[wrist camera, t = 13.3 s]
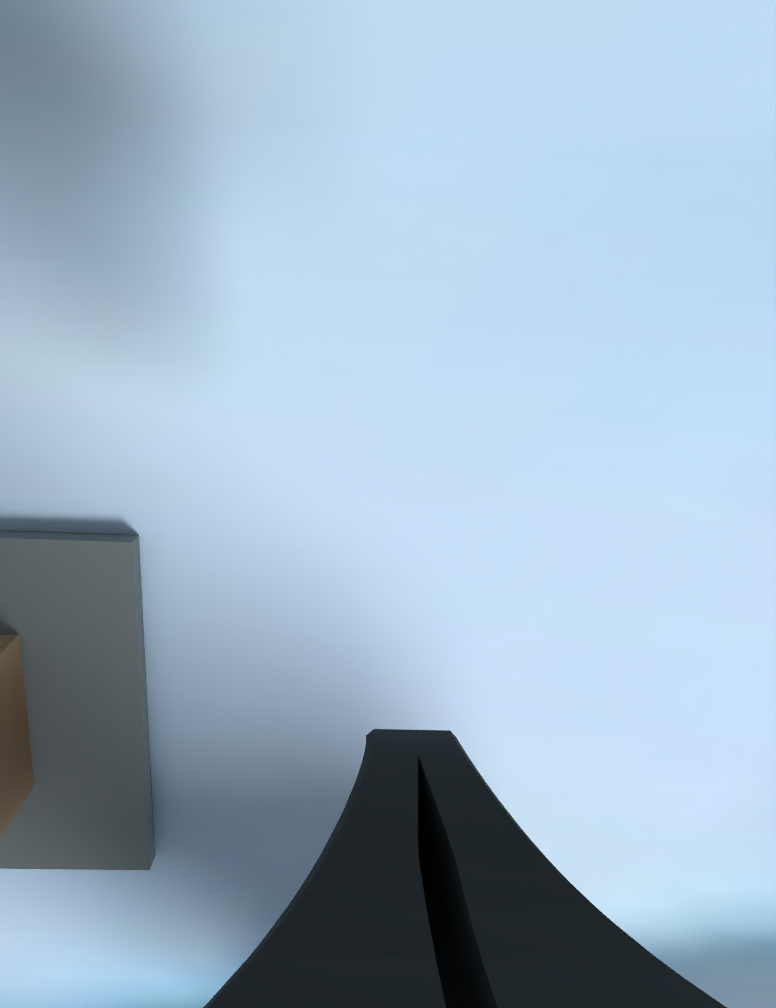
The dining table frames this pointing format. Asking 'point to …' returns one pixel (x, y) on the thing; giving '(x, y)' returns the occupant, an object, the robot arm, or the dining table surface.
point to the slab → (13, 733)
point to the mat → (79, 700)
